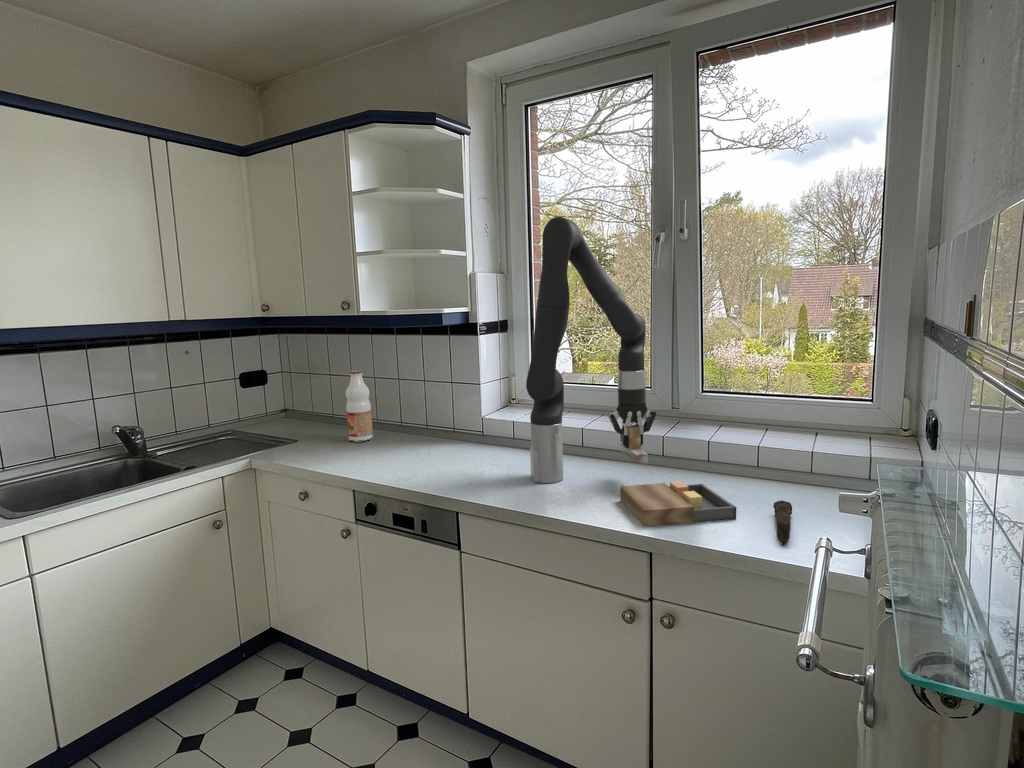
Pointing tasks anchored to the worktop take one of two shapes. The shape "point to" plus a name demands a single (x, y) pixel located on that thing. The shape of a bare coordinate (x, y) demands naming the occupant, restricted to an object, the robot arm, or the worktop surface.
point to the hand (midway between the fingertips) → (632, 446)
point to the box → (712, 505)
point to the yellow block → (693, 499)
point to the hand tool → (783, 520)
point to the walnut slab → (656, 505)
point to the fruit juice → (358, 408)
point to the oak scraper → (634, 446)
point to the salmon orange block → (679, 487)
